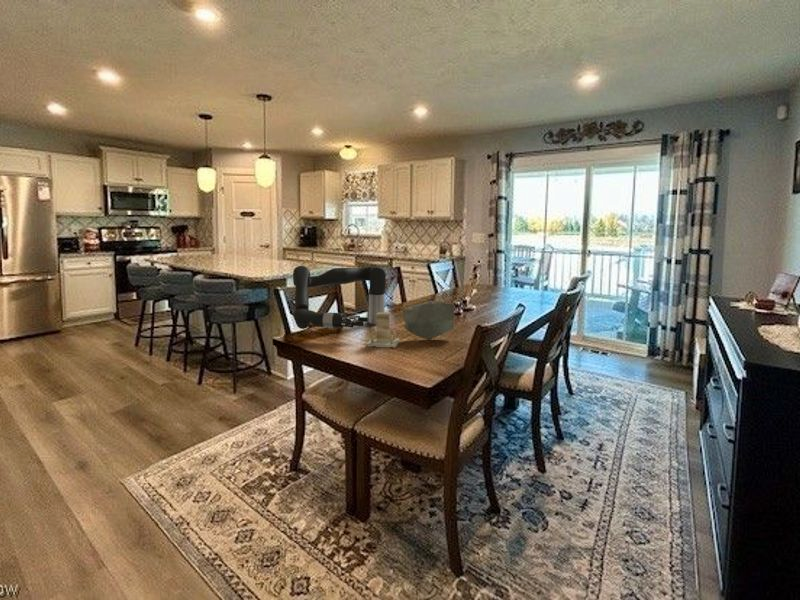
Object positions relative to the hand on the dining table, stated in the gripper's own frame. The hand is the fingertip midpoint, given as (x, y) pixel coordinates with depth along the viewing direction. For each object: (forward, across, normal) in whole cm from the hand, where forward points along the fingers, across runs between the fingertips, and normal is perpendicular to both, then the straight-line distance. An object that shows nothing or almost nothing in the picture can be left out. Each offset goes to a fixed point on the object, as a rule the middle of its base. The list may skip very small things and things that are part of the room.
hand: (365, 321), depth 212 cm
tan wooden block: (+9, 0, +9) cm, 13 cm away
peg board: (+9, 0, +10) cm, 14 cm away
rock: (+30, +11, +11) cm, 34 cm away
